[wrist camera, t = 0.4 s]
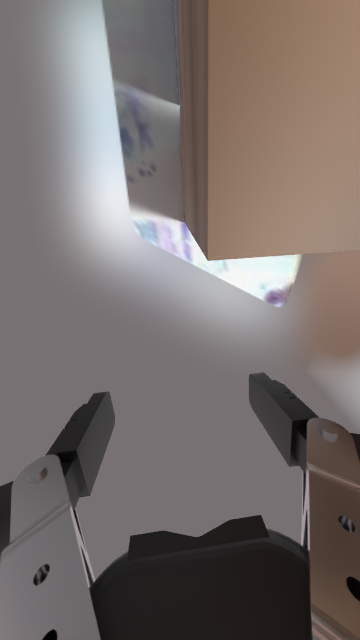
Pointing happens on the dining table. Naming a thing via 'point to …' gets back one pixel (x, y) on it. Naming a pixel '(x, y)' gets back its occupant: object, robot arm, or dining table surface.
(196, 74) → the walnut plinth
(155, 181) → the dining table surface
